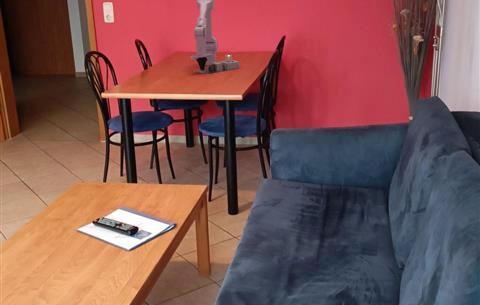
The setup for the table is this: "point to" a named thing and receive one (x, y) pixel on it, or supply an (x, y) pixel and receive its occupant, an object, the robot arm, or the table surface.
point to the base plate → (206, 71)
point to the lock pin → (213, 67)
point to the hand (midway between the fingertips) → (202, 70)
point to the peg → (228, 58)
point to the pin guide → (218, 66)
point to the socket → (230, 65)
